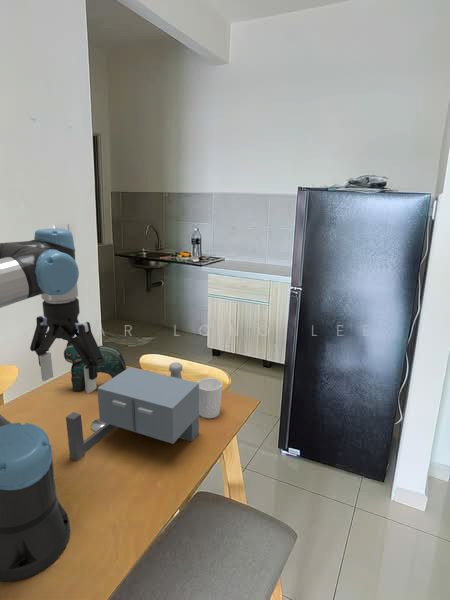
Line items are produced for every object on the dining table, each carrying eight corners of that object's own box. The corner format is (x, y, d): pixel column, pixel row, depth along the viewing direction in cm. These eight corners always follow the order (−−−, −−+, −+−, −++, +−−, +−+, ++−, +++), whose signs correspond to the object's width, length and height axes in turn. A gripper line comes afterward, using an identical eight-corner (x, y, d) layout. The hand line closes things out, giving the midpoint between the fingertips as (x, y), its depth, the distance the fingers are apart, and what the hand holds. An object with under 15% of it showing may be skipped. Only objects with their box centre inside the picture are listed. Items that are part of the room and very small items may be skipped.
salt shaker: (188, 398, 126) (188, 363, 122) (177, 406, 121) (177, 369, 117) (175, 393, 129) (174, 358, 125) (163, 401, 124) (162, 365, 120)
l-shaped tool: (77, 460, 96) (73, 419, 92) (70, 458, 97) (65, 417, 93) (123, 423, 112) (121, 386, 108) (116, 420, 113) (114, 384, 109)
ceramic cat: (66, 393, 128) (60, 338, 122) (73, 384, 134) (68, 331, 128) (125, 394, 128) (122, 339, 122) (129, 384, 134) (127, 332, 129)
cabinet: (171, 466, 94) (170, 410, 90) (99, 442, 103) (94, 389, 99) (198, 433, 108) (198, 383, 103) (132, 414, 116) (129, 366, 112)
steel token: (113, 430, 109) (113, 427, 108) (91, 434, 107) (91, 431, 106) (112, 419, 114) (112, 416, 114) (91, 422, 112) (90, 419, 112)
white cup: (226, 412, 118) (227, 383, 116) (208, 422, 113) (209, 393, 110) (209, 403, 123) (209, 375, 121) (191, 412, 118) (191, 383, 115)
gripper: (116, 302, 83) (121, 388, 89) (34, 289, 92) (43, 368, 98) (92, 311, 76) (99, 404, 82) (6, 296, 86) (17, 380, 91)
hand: (68, 384), depth 90 cm, fingers open, 13 cm apart
